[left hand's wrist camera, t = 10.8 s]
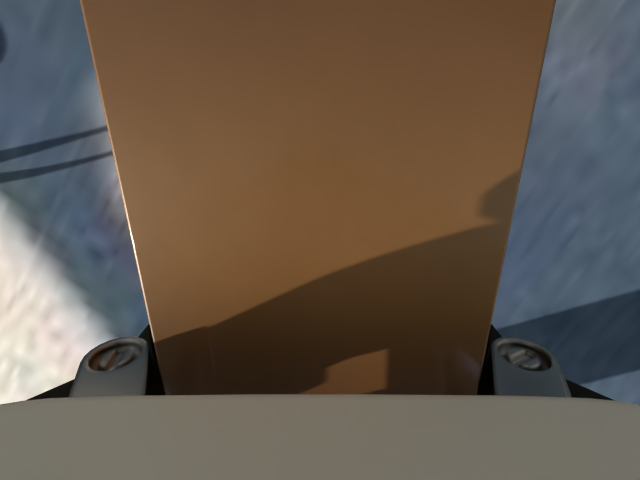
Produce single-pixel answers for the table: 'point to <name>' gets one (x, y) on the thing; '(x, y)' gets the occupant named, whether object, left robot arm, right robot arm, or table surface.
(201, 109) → the bar
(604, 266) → the table surface
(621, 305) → the table surface
